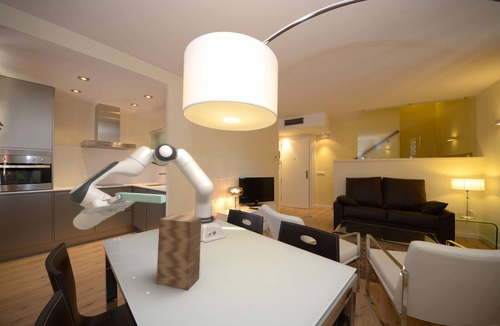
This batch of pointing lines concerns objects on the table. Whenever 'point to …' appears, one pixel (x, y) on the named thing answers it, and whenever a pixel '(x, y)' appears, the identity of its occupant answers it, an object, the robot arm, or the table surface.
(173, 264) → the walnut stand
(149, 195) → the mint green bar
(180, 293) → the table surface
